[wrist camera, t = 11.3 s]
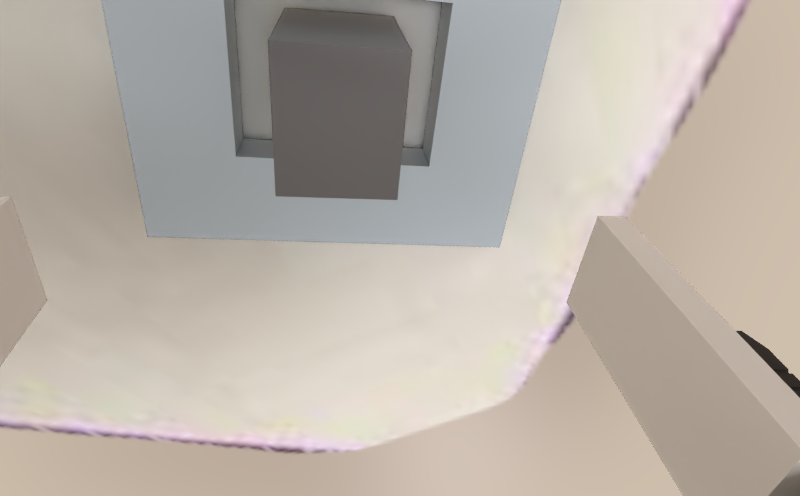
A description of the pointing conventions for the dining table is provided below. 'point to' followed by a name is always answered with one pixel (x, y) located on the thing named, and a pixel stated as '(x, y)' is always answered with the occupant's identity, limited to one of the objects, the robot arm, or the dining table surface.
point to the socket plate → (253, 158)
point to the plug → (338, 104)
